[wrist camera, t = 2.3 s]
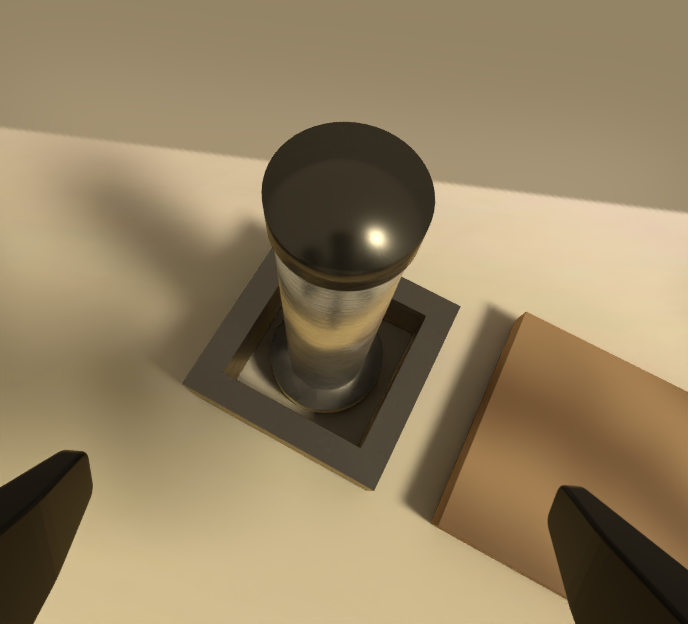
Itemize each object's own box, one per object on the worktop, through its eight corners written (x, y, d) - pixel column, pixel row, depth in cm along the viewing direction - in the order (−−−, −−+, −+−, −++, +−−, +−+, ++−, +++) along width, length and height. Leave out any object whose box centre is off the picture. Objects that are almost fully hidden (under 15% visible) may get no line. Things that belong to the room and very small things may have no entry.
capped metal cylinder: (348, 433, 21) (407, 352, 8) (251, 380, 21) (173, 231, 9) (396, 338, 22) (504, 156, 10) (305, 291, 23) (302, 63, 10)
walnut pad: (664, 654, 18) (688, 664, 17) (430, 523, 20) (438, 526, 18) (717, 421, 22) (739, 417, 21) (515, 320, 23) (526, 311, 22)
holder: (366, 490, 20) (374, 490, 17) (196, 395, 21) (182, 383, 18) (444, 325, 23) (460, 306, 20) (291, 247, 23) (290, 220, 21)
